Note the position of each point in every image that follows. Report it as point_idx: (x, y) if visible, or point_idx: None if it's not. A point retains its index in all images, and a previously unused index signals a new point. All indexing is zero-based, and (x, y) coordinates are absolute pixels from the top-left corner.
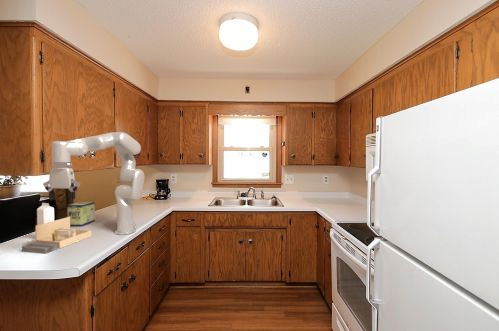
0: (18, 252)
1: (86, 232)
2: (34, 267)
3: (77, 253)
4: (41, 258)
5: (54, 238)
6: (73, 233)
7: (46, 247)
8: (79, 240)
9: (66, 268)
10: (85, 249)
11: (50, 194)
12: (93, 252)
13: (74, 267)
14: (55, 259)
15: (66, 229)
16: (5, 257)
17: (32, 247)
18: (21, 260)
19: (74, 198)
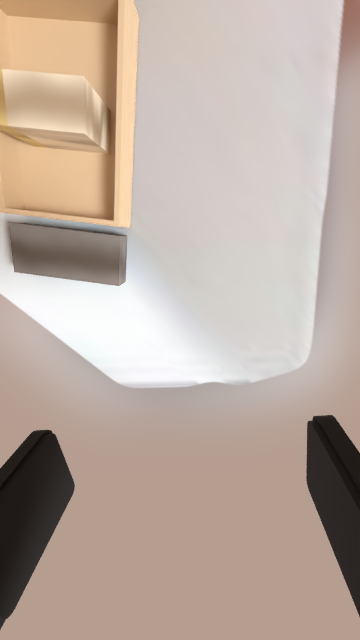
0: None
1: (127, 37)
2: (182, 370)
3: (231, 263)
4: (143, 313)
5: None
6: (94, 106)
7: (111, 273)
8: (134, 115)
9: (278, 373)
10: (234, 219)
11: (23, 575)
12: (288, 248)
13: (297, 366)
14: (195, 318)
15: (41, 98)
16: (28, 313)
17: (61, 277)
18: (99, 330)
19: (333, 426)
